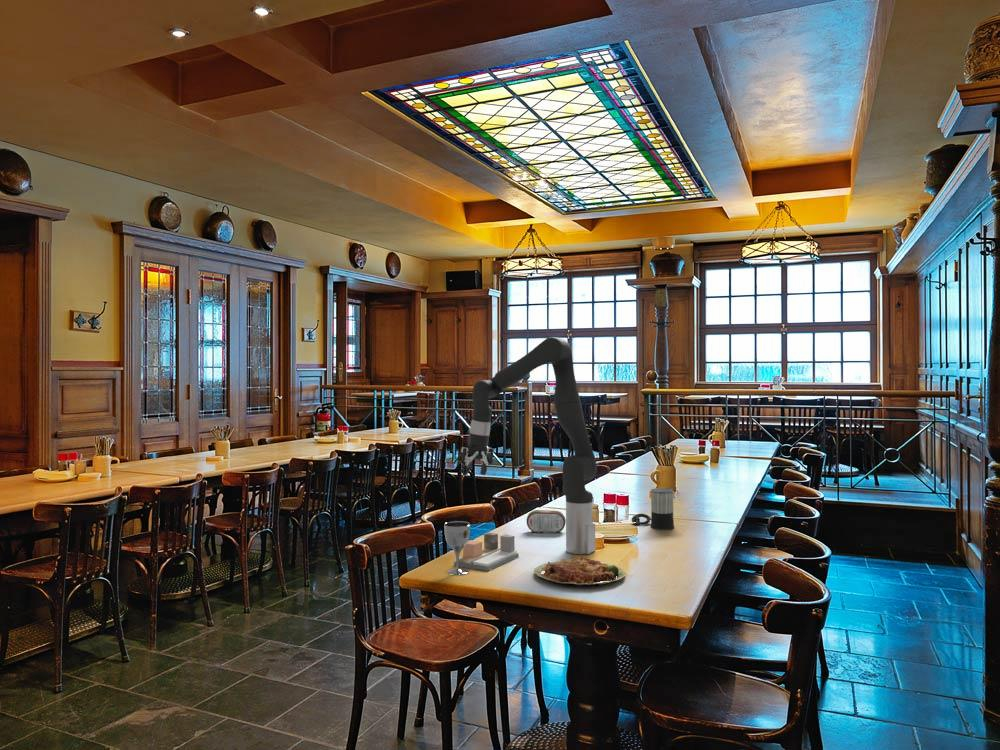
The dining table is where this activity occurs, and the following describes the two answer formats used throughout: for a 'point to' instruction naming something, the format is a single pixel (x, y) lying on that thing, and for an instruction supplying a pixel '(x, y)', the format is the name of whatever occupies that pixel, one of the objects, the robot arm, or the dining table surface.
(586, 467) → the robot arm
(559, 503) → the dining table surface
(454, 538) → the wine glass
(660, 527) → the milk frother
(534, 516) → the tin
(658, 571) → the dining table surface
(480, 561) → the grey strip
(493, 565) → the lane board
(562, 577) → the rice dish
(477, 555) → the terracotta block
